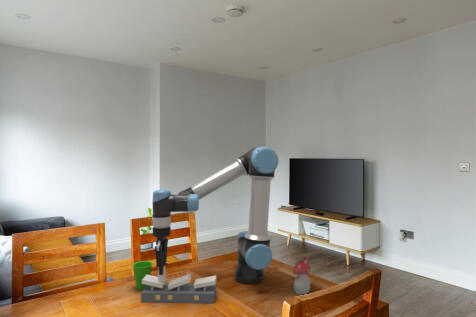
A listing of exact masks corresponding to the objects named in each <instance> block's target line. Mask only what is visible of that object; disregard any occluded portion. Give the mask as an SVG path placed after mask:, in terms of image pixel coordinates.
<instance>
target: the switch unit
mask: <svg viewBox="0 0 476 317" xmlns="http://www.w3.org/2000/svg"><path fill="white" fill-rule="evenodd" d="M169 283H170V282H168V283H167V282H166V283H165V285H164V286H163V288H158V287H154V286H150V285H147V286H146V287H145V288H144V290H141V293H140V302H141V303H159V304H161V303H165V304H170V303H171V304H214V303H215V299H216V294H217V284H216V285H211V286H205V287H200V288H194V283H195V282H194V283H191V282H189V283H187V284H184V285H181V286H178V287H175V288H172V289H170V290H169V289H168V285H169Z"/></svg>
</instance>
